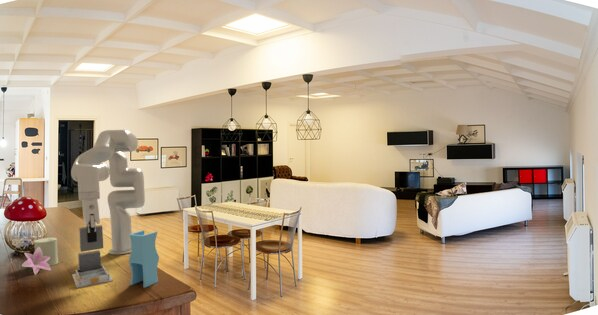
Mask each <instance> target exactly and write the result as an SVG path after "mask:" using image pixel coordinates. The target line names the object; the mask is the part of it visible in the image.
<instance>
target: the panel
mask: <svg viewBox="0 0 598 315" xmlns="http://www.w3.org/2000/svg"><path fill="white" fill-rule="evenodd" d="M89 227H91V226H89ZM78 233H79V234H78V235H79V251H80V252H81V253H84V252H90V251H97V250H101V249H104V235H103V233H104V232H103V225H101V224H98V225H96V234H97V241H96V242H91V243H88V237H87V233H88V227H86V226H83V227H79V228H78Z"/></svg>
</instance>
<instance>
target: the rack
mask: <svg viewBox="0 0 598 315" xmlns="http://www.w3.org/2000/svg"><path fill="white" fill-rule="evenodd" d="M77 254H78V255H77V256H78V257H77V258H78V259H77V260H78V268H76V269H75V270H74V272H75V273H72V274H71V276H72V279H73V282H74V284H75V288H76V289H78V288H79V289H80V288H84V287H89V286H93V285H99V284H104V283H109V282H113V281H114V279H113V277H112V276H111V274H110V272H109V271H108V270H107V268H105V266H104V264H102V263H101V251H100V249H96V250H90V251H84V252H81V253H80V252H79V253H77Z"/></svg>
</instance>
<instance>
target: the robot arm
mask: <svg viewBox="0 0 598 315" xmlns="http://www.w3.org/2000/svg"><path fill="white" fill-rule="evenodd" d="M138 145H139V141H138V138H137V136H136V135H135V134H134V133H133V132H131V131H130V130H126V129H107V130H102V131H101V132H100V133H99V134H98V137H97V139H96V140H95V143H94V146H93V147H92V148H90V149H88V150H86V151H84V152H82V153H81V154H79V155H78V157H76V158H75V161H74V163H73V164H72V166H71V170H70V175H71V178H72V180H73V181H75V182H77V189H78V191H77V192H78V201H79V202H80V201H81V203H82V205H81V206H82V218H83V223H84V224H85V227H88V233H87V237H88V243H91V242H96V241H97V234H96V226H97V225H96V224H98V225H100V224H101V223H100V222H101V221H100V208H99V202H98V200H99V199H101V194H100V193H101V192H100V182H104V181H106V180H108V178H109V181H110V185H111V187H113V188H133V189H117V190H112V191H111V192H109V193H108V195H107V204H108V208H109V215H110V229H111V230H110V231H111V234H110V235H111V249H109V250H108V254H110V255H112V256H115V255H117V256H118V255H125V254H126V255H127V254H131V251H132V243H131V239H130V234H132V232H133V231H132V216H131V214H130V213H129V212H128V210H127V209H138V208H142V207H144V206H145V202H146V201H145V200H146V199H145V198H146V197H145V177H144V172H143V171H142V170H141V169H140V168H135V167H134V168H132V167H131V168H129V167H128V166H129V165H128V158H127V156H126V154H124V153H125V152H127V153H128V152H129V153H130V152H135V151H136V150H137V149H138ZM107 161H108V163H109V166H108V165H107V164H106V162H107ZM89 226H91V227H89Z"/></svg>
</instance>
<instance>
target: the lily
mask: <svg viewBox="0 0 598 315" xmlns="http://www.w3.org/2000/svg"><path fill="white" fill-rule="evenodd" d="M24 255H25V257H26V259H27V260H25V261H24V262H23V263H22V264H21V267H25V268H27V267H28V268H30V271H32V270H33V273H34V276H35V275H37V274H38V272H39V271H40V269H43V270H46V271H52V267H51V266H49V264H48V263H47V261H48V260H49V259H50V257H48V256H43V253H42V250H41V248H40V247H38V248H37V249H36V251H35V250H34V252H33V254H32V253H30V252H24Z"/></svg>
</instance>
